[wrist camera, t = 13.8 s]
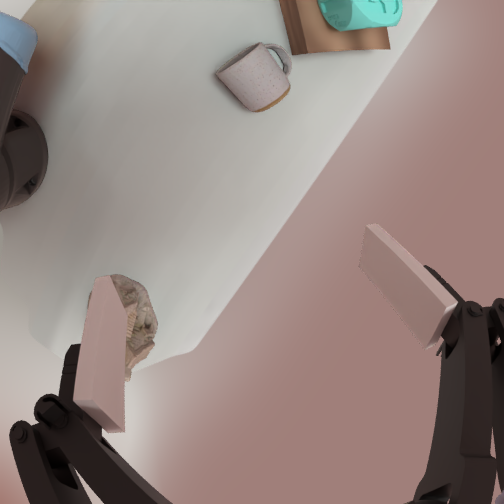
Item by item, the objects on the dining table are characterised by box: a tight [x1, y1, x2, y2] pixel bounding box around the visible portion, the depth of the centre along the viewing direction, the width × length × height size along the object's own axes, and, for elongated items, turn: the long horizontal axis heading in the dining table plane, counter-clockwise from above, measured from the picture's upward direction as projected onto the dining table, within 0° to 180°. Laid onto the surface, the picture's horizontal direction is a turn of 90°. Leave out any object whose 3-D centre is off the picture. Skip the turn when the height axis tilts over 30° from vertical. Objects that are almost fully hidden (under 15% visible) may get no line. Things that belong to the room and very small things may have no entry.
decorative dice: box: [318, 0, 402, 31], centre depth 25 cm, size 8×8×8 cm
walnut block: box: [279, 0, 390, 55], centre depth 30 cm, size 14×14×6 cm
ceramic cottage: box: [88, 275, 158, 382], centre depth 48 cm, size 16×16×15 cm
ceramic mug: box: [216, 42, 292, 112], centre depth 34 cm, size 10×8×7 cm
